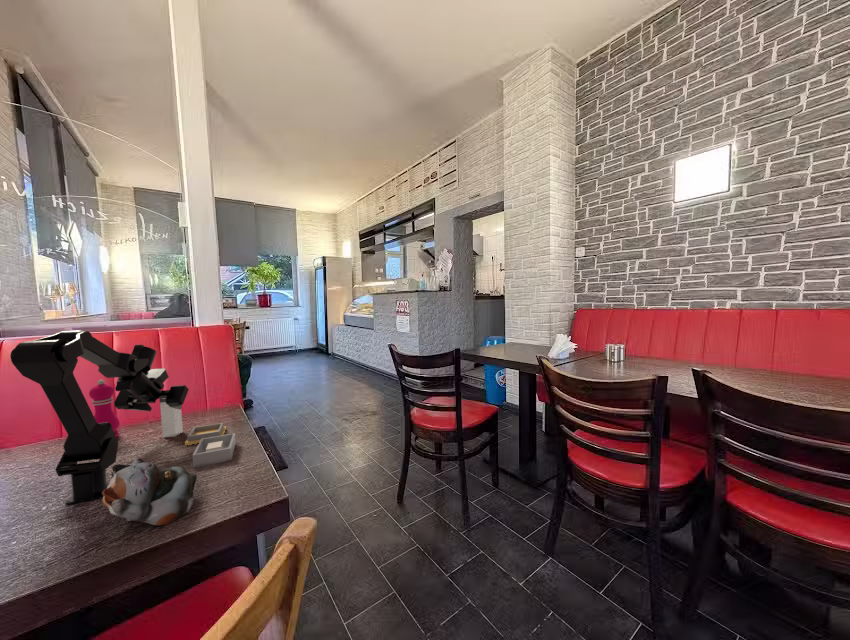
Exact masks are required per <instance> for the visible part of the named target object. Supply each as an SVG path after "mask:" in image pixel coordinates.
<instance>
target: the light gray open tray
mask: <svg viewBox="0 0 850 640" xmlns="http://www.w3.org/2000/svg"><path fill="white" fill-rule="evenodd" d="M235 445H237V438H236V432H234V433H233V432H232V433H228V434H224V435H221V436H215V437H209V438H203V439H201V440H200V442H199V444H197V446H196V447H195V449H194V451H193V454H192V467H193V468H199V467H204V466H209V465H216V464H220V463H221V464H222V463H225V461H226V462H230V460H231V461H232V460H233V457H234V453H235V450H236V449H235V448H236V446H235ZM234 449H235V450H234ZM232 456H233V457H232Z"/></svg>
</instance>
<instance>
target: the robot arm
mask: <svg viewBox="0 0 850 640" xmlns="http://www.w3.org/2000/svg"><path fill="white" fill-rule="evenodd" d="M156 355H157V351H156V350H155V349H153V347H152V348H151V347H149V346H145V345H144V344H135V345H134V346H133V349H132V352H131V353H127V352H119V351H117V350H115V349H113V348H112V347H110V346H109V345H107V344H106V343H104V342H103V341H101V340H99V339H97V338H96V337H94V336H93V335H92V333H91V332H90V331H88V330H83V329H79V330H78V329H77V330H76V329H75V330H63V331H59V332H57V333H54V334H53V335H49V336H44V337H41V338H37V339H33V340H27V341H22V342H19V343H18V344H17V345H16V346H15V348H13V349H12V350H11V351H10V355H9V356H10V361H11V364H12V365H13V366H14V367H15V369H16V370H17V371H18V372H19V373H20V374H21V376H23V377H25V378H27V379H28V380H30V381H32V382H34V383H36V384H39V385H40V387H41V389H42V390H43V392H44V394H45V396H46V397H47V399H48V401H49V403H50V405H51V406H52V409H53V411H54V412H55V414H56V416H57V417H58V420H59V422H60V423H61V425H62V426H63V428H64V430H65V432H66V434H67V437H66V438H65V441H64V444H63V446H62V447H63V450H64V452H63V454H62V456H61V458H60V460H59V461H58V463H57V466H56V468H55V472H56V474H57V477H64V476H70V482H71V493H72V495H71V496H70V497H69V498H68V499H67V500H65V502H64V505H65V506H68V505H71V504H76V503H81V502H86V501H90V500H94V499H95V500H96V499H101V498H103V497H104V496H103V495H102V491H103V490H104V489H107V487H108V485H109V483H110V482H107V472H106V469H108V468H110V466H112V465H113V464H116V460H117V455H118V454H117V453H118V448H119V446H118V445H119V441H118V437H117V438H116V437H115V435H116V433H115V432H114V431H113V428H112V425H111V424H110V423H109V422H106V423H97V422H96V420H95V418H94V414H93V411H92V409H91V407H90V406H89V404H88V401H87V399H86V397H85V396H84V393H83V392H82V389H81V386H80V385H79V384H78V381H77V379H76V377H75V374H74V371H75V369H76V366H77V363H79V359H78V358H79V357H80V358H83V359H84V360H86V361H89V362H90V363H92V364H94V365H95V366H97V367H98V369H97V372H99V373H100V374H101V375H103V377H105V378H107V379H110V378H111V379H115V378H117V381H116V385H115V388H114V391H115V392H118V394H117V396H116V398H115V399H114V400H113V406H114V408H116V409H118V410H130V411H141V412H151V411H152V405H150V404H156V402H157V400H160V399H161V398H166V404H167V405H169V407H172V408H175V409H181V410H182V408H183V404H184V402H185V400H186V397H187V395H188V392H189V390H190V389H189V388H188V386H186V384H182V385H181V384H180V385H179V384H178V385H171V386H170V389H168V390H167V389H166V390H165V389H164V388H165V384H164V383H165V382H166V380H167V379H168V378H169V374H168V371H167V369H166V368H152V366H153V363H154V360H155V359H156ZM163 389H164V390H163ZM92 460H95V461H92ZM96 460H98V461H96ZM85 461H86V462H85ZM87 461H90V462H87ZM78 462H83V463H78Z"/></svg>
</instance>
